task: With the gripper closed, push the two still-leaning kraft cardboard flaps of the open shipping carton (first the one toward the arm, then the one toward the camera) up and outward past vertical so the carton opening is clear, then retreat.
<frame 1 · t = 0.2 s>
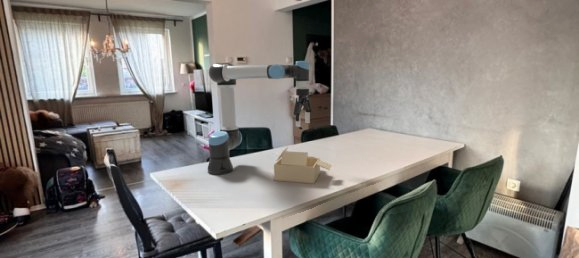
hand: (302, 124, 184), 28 cm above the table, fingers open, 13 cm apart
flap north: (303, 156, 188), point 8 cm above the table, hinge at 200.0°
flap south: (294, 158, 168), point 13 cm above the table, hinge at 55.0°
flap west: (282, 154, 178), point 13 cm above the table, hinge at 55.0°
carton: (297, 176, 177), on the table
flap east: (324, 164, 172), point 8 cm above the table, hinge at 200.0°
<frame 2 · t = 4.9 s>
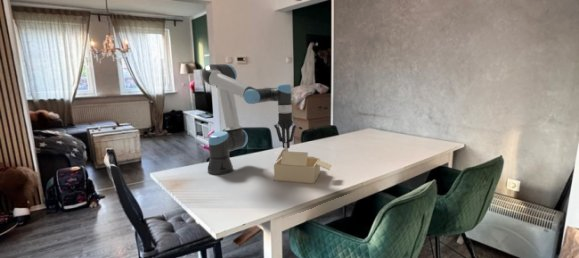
hand: (286, 153, 177), 13 cm above the table, fingers closed
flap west: (281, 153, 178), point 13 cm above the table, hinge at 59.7°, touching gripper
everything else where it was.
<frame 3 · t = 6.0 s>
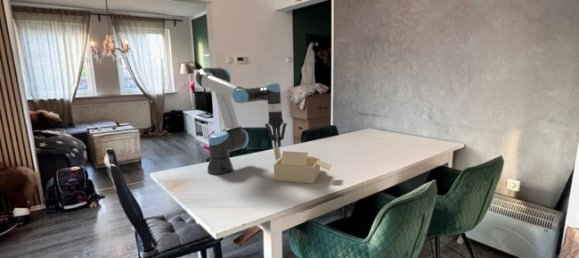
hand: (278, 152, 178), 14 cm above the table, fingers closed
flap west: (277, 152, 178), point 13 cm above the table, hinge at 99.3°, touching gripper
everything else where it was.
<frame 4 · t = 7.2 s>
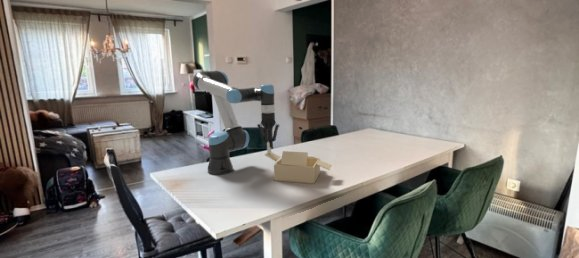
hand: (269, 152, 180), 13 cm above the table, fingers closed
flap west: (272, 156, 179), point 11 cm above the table, hinge at 153.0°, touching gripper
everything else where it was.
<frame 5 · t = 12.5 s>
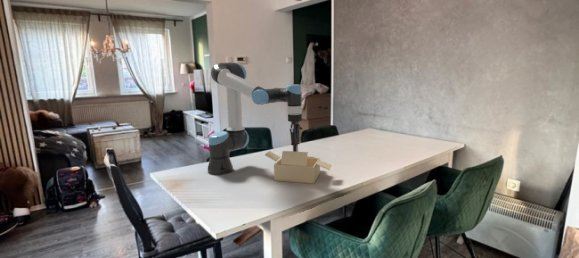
hand: (295, 156, 171), 13 cm above the table, fingers closed
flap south: (294, 158, 168), point 13 cm above the table, hinge at 58.9°, touching gripper
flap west: (272, 156, 179), point 11 cm above the table, hinge at 153.0°
everything else where it was.
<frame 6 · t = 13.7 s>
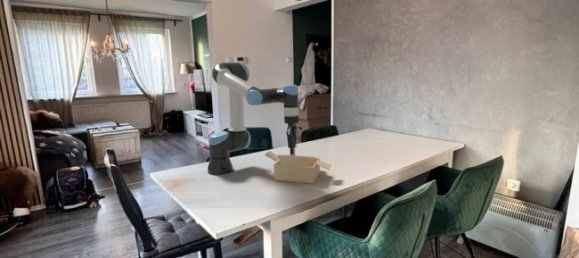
hand: (292, 159, 165), 13 cm above the table, fingers closed
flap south: (291, 160, 164), point 13 cm above the table, hinge at 123.2°, touching gripper
everything else where it was.
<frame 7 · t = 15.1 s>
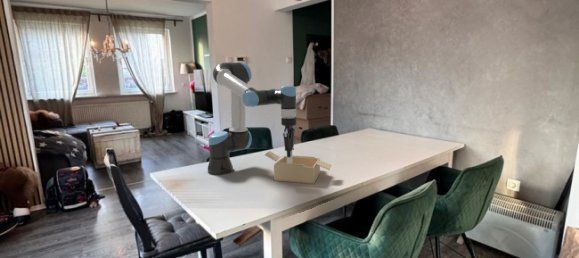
hand: (289, 162, 160), 13 cm above the table, fingers closed
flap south: (291, 164, 163), point 11 cm above the table, hinge at 156.2°, touching gripper
everything else where it was.
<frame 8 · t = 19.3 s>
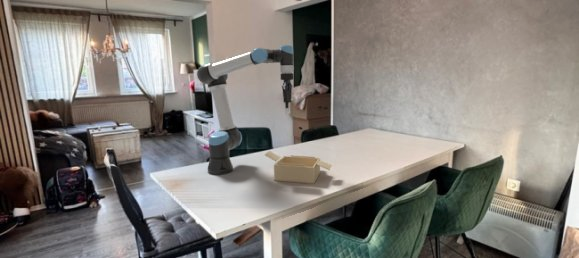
hand: (287, 113, 185), 34 cm above the table, fingers closed
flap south: (291, 164, 163), point 11 cm above the table, hinge at 156.6°
everything else where it was.
at the end: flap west at +153° (first picture: +55°); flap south at +157° (first picture: +55°) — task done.
